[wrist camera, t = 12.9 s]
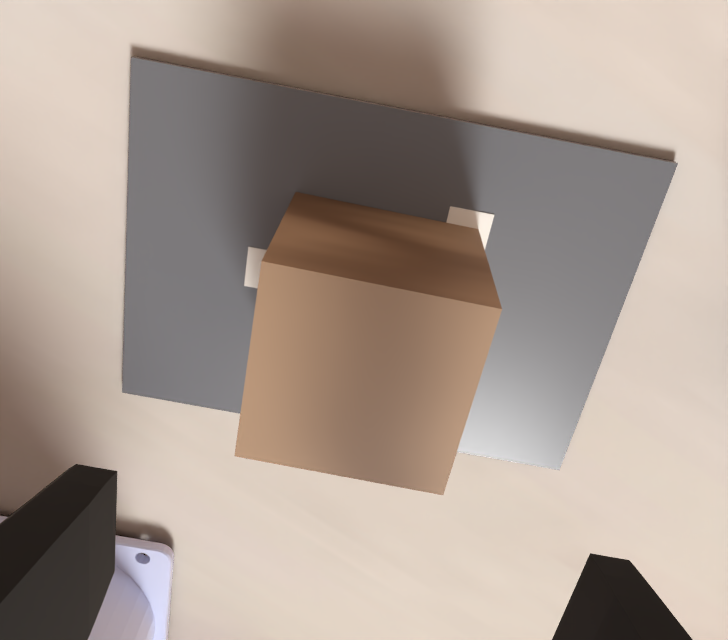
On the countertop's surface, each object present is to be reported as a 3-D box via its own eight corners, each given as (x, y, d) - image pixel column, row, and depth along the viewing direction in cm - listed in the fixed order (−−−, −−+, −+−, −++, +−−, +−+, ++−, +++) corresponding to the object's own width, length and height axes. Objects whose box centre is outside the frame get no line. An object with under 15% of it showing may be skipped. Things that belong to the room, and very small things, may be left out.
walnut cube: (270, 352, 21) (234, 455, 16) (295, 191, 19) (261, 261, 14) (434, 384, 21) (442, 495, 16) (478, 229, 19) (502, 309, 14)
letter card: (124, 389, 22) (121, 392, 22) (133, 56, 17) (130, 57, 17) (557, 466, 22) (559, 470, 22) (675, 161, 18) (678, 163, 18)
